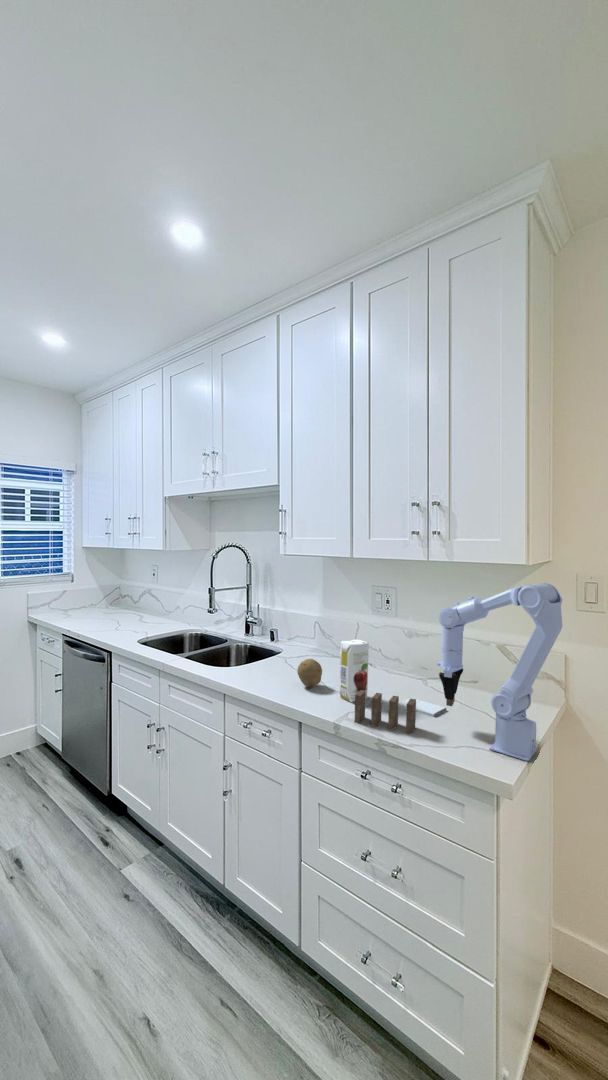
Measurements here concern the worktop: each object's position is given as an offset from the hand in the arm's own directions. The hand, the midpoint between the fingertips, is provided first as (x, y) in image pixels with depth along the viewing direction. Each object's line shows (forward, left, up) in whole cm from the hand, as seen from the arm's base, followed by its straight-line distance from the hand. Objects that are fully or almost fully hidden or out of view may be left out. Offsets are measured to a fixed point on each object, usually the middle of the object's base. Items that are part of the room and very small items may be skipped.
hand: (450, 696), depth 134 cm
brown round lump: (+52, 0, -9) cm, 53 cm away
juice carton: (+34, -1, -9) cm, 35 cm away
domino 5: (0, 0, -2) cm, 2 cm away
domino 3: (+12, +11, -9) cm, 19 cm away
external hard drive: (+13, -9, -10) cm, 18 cm away
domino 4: (+7, +9, -9) cm, 15 cm away
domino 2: (+17, +12, -9) cm, 23 cm away
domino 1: (+22, +13, -9) cm, 27 cm away
